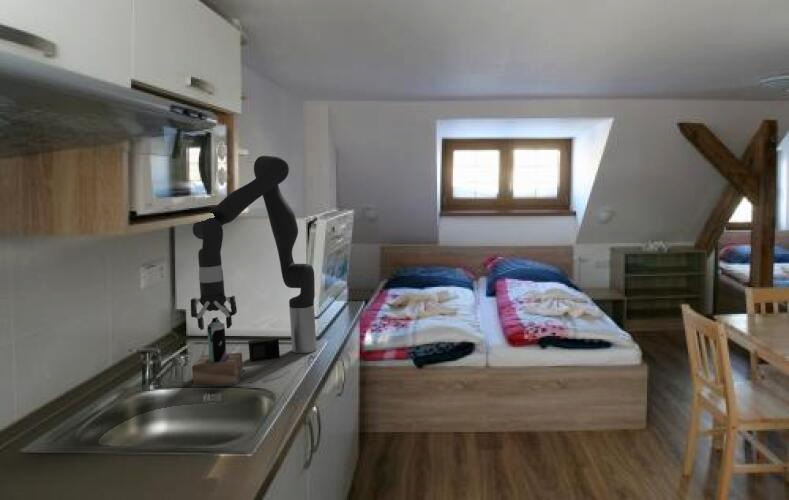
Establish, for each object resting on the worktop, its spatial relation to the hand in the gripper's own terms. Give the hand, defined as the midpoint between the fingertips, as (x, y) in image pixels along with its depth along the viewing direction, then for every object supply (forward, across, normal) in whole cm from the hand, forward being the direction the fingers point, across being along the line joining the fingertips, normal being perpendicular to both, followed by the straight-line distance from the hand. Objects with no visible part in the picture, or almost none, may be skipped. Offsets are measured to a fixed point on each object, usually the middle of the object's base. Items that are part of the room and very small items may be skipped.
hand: (215, 328), depth 199 cm
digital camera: (+17, -11, -22) cm, 30 cm away
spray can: (+16, 0, 0) cm, 16 cm away
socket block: (+17, 0, 0) cm, 17 cm away
